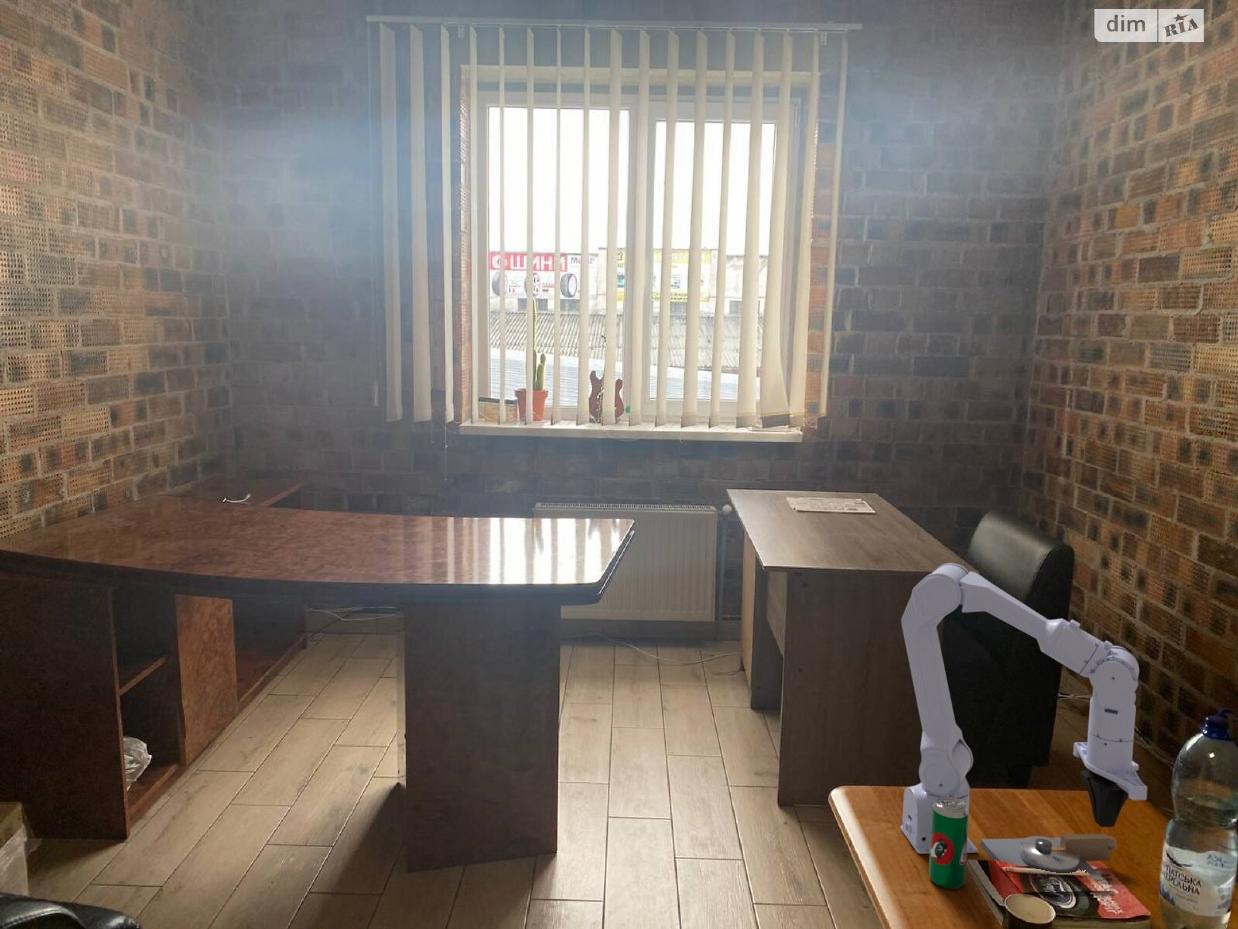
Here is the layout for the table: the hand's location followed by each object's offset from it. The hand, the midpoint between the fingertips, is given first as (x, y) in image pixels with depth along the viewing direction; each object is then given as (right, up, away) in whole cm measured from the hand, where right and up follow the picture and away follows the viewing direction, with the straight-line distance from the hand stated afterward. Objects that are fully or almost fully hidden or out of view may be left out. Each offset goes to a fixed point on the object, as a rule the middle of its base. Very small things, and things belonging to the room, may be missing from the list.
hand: (1104, 824), depth 129 cm
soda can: (-22, -9, +2) cm, 24 cm away
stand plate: (-6, -9, +6) cm, 12 cm away
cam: (-2, -8, +6) cm, 10 cm away
